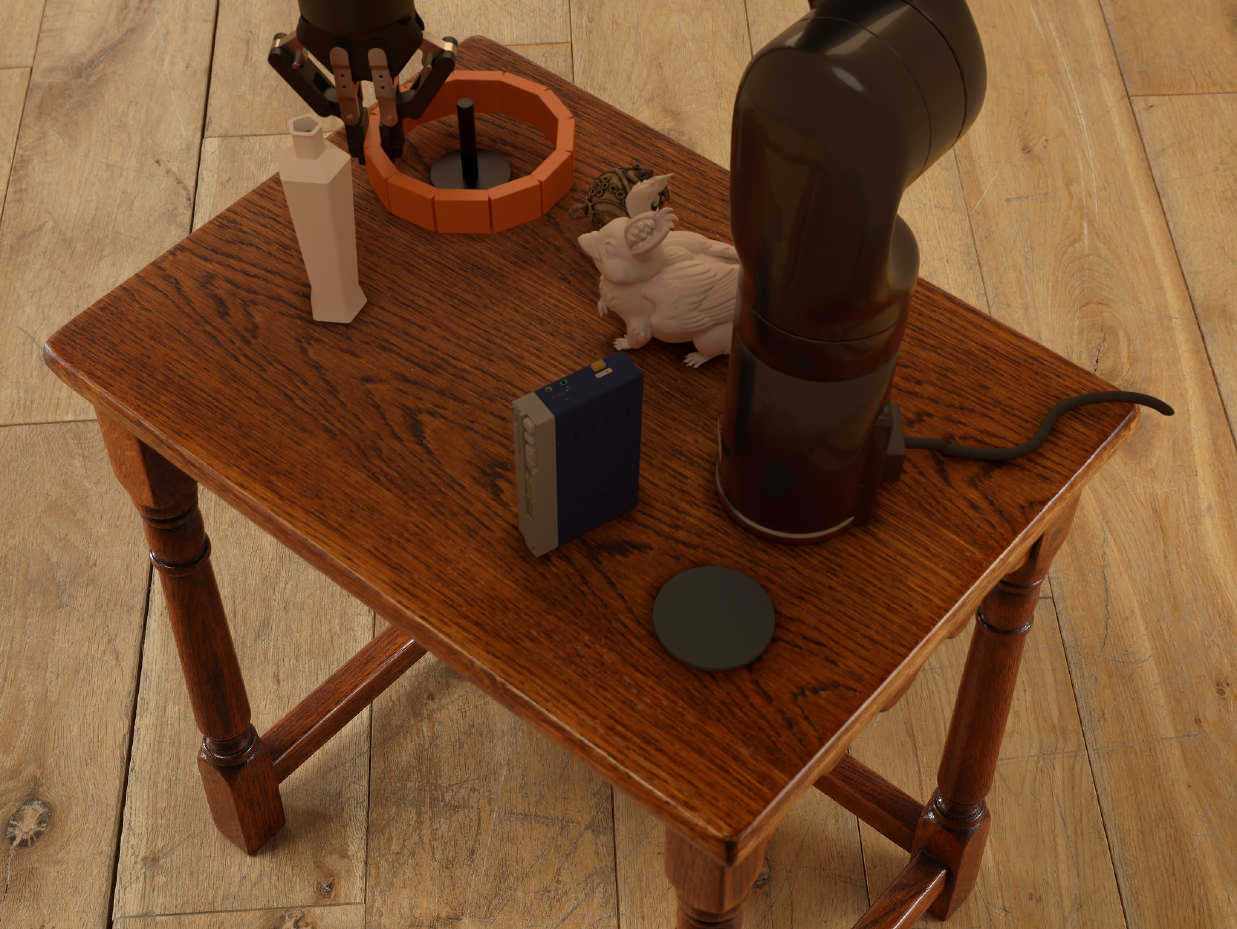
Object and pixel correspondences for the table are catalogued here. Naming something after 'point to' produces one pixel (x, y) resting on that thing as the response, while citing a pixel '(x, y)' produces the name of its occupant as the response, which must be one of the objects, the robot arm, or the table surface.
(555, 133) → the hoop
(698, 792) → the table surface
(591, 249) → the figurine
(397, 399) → the table surface
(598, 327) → the table surface
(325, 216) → the perfume bottle
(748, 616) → the coaster
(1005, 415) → the table surface
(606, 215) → the pendant
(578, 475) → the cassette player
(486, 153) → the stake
